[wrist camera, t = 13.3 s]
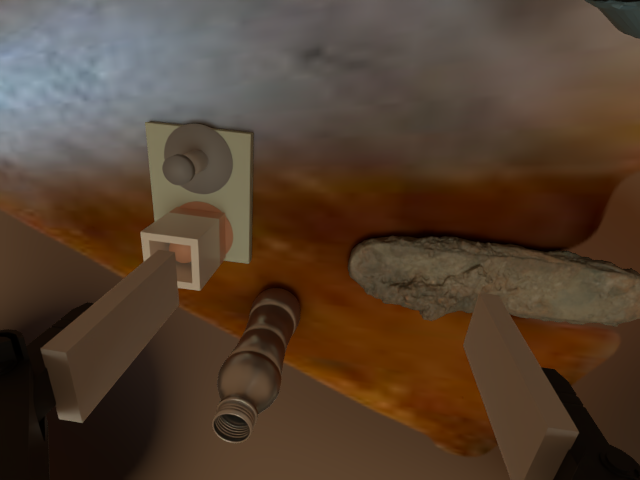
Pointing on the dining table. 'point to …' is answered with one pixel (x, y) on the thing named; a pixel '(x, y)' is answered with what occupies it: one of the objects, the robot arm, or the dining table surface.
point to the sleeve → (189, 243)
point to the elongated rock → (494, 279)
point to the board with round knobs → (204, 179)
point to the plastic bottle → (255, 365)
